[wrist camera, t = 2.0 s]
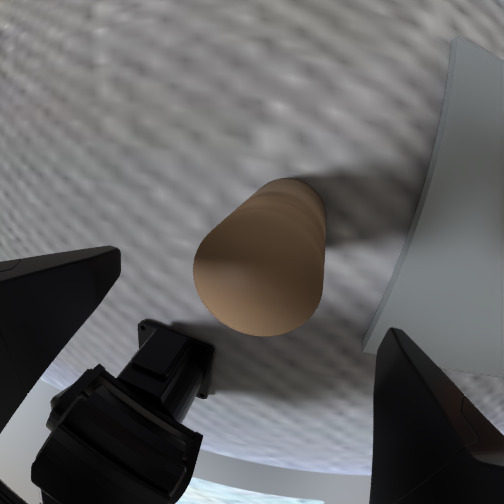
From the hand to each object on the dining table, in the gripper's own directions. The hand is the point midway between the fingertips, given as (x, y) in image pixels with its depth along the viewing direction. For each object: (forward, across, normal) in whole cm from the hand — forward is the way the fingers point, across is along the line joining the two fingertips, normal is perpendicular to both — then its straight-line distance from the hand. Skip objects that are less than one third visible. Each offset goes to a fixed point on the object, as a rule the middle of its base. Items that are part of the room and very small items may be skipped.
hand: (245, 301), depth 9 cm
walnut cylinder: (+9, 0, 0) cm, 9 cm away
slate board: (+9, -15, -3) cm, 18 cm away
